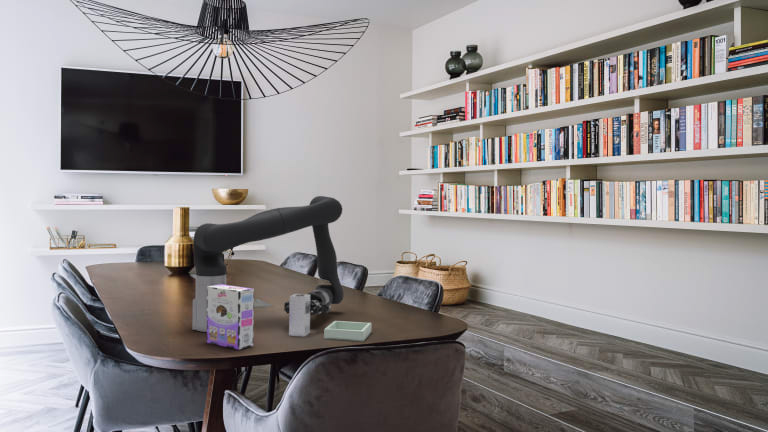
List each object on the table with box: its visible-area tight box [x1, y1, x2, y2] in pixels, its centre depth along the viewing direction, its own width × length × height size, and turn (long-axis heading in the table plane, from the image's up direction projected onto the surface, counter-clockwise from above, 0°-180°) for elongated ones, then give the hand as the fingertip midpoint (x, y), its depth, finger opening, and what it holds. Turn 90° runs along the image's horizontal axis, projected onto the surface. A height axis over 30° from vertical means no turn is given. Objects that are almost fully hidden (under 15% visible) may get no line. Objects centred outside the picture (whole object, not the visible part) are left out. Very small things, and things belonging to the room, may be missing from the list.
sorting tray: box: [323, 320, 372, 343], centre depth 176 cm, size 12×12×3 cm
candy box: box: [206, 284, 255, 351], centre depth 162 cm, size 14×6×16 cm, turn 56°
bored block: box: [288, 293, 311, 338], centre depth 177 cm, size 5×5×12 cm
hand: (300, 310), depth 177 cm, fingers open, 8 cm apart
